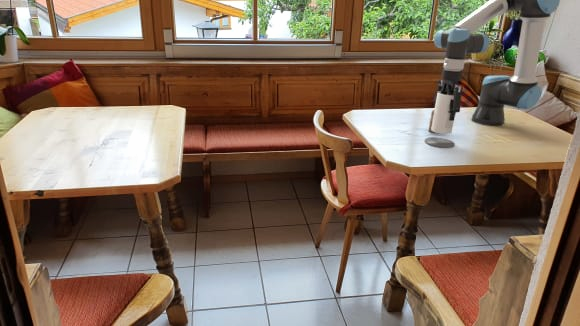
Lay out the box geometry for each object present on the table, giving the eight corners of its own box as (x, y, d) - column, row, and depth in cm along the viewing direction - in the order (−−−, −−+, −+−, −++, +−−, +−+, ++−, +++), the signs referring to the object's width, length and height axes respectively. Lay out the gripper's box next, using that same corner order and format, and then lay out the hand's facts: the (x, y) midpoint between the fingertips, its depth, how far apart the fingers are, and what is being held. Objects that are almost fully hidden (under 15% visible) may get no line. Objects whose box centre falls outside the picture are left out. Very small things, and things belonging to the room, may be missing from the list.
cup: (452, 134, 174) (460, 96, 168) (432, 132, 176) (438, 94, 170) (450, 129, 182) (457, 91, 176) (430, 127, 183) (436, 90, 177)
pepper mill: (434, 130, 198) (438, 108, 194) (439, 132, 194) (443, 110, 190) (426, 130, 197) (430, 108, 193) (431, 133, 193) (435, 110, 189)
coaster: (443, 138, 188) (444, 136, 187) (460, 147, 177) (460, 145, 176) (419, 139, 185) (419, 137, 184) (434, 148, 174) (434, 147, 174)
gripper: (430, 64, 178) (421, 117, 186) (460, 74, 159) (449, 132, 167) (446, 65, 180) (436, 117, 188) (477, 74, 161) (465, 132, 169)
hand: (442, 124), depth 178 cm, fingers closed on cup, 8 cm apart
